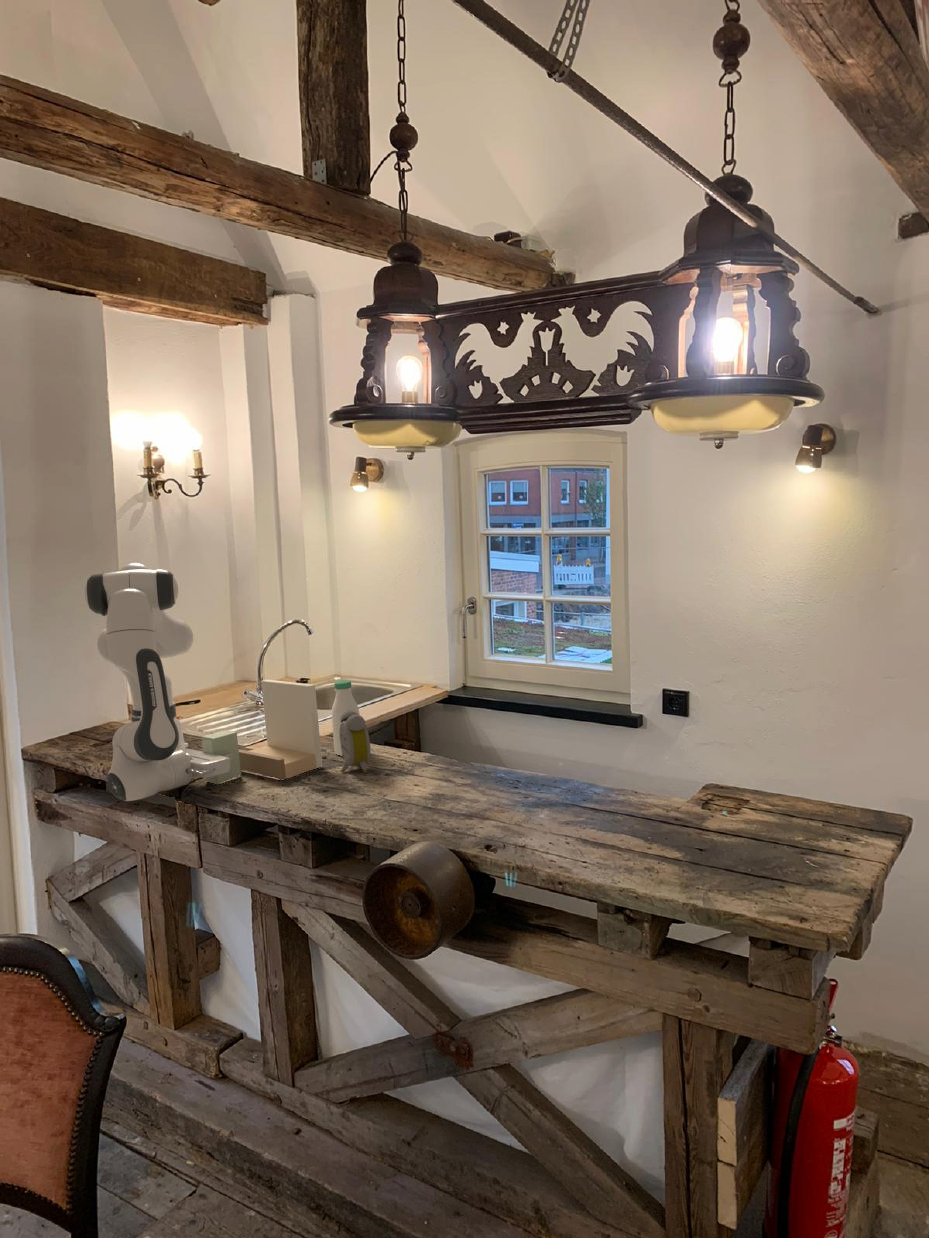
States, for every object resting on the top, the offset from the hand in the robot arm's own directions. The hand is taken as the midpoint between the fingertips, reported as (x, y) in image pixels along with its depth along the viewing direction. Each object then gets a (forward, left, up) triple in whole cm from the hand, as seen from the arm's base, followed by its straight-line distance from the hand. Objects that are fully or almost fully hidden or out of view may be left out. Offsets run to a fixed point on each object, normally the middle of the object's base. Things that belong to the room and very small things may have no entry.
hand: (224, 754), depth 222 cm
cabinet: (0, -1, -7) cm, 7 cm away
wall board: (+5, +12, -6) cm, 15 cm away
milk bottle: (+11, +32, -7) cm, 35 cm away
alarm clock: (+25, +21, -7) cm, 33 cm away
